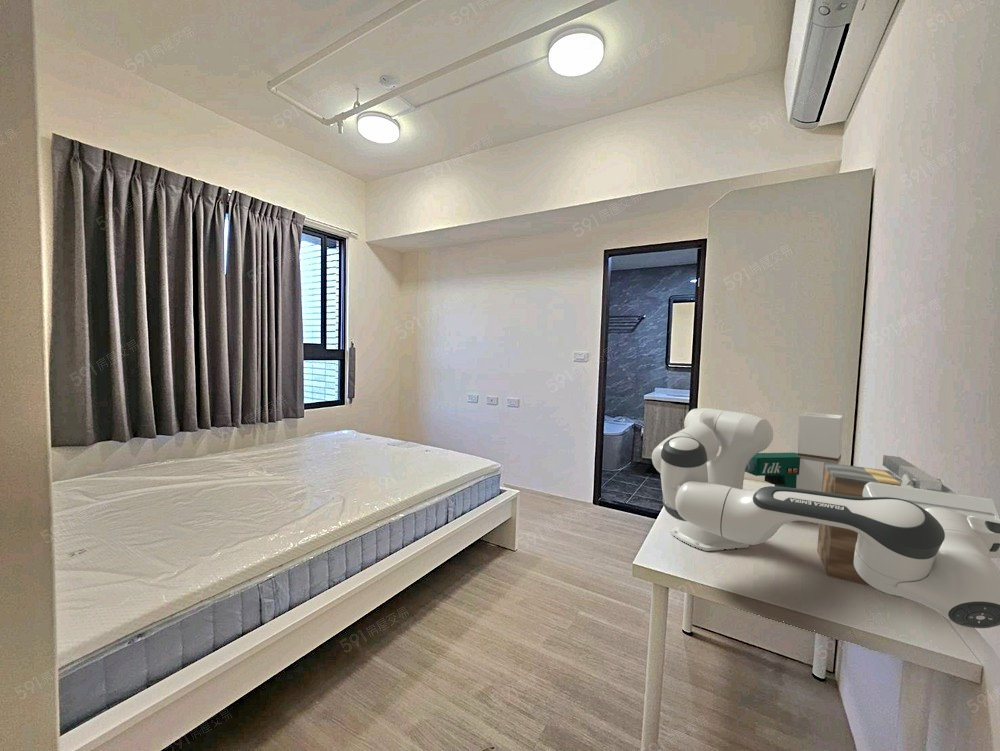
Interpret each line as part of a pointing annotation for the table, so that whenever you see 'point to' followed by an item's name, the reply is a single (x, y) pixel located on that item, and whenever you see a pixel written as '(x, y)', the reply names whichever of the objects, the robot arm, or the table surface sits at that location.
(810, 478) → the white cradle pedestal
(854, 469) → the stand
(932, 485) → the brushed metal bar
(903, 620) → the table surface
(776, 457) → the power tool
